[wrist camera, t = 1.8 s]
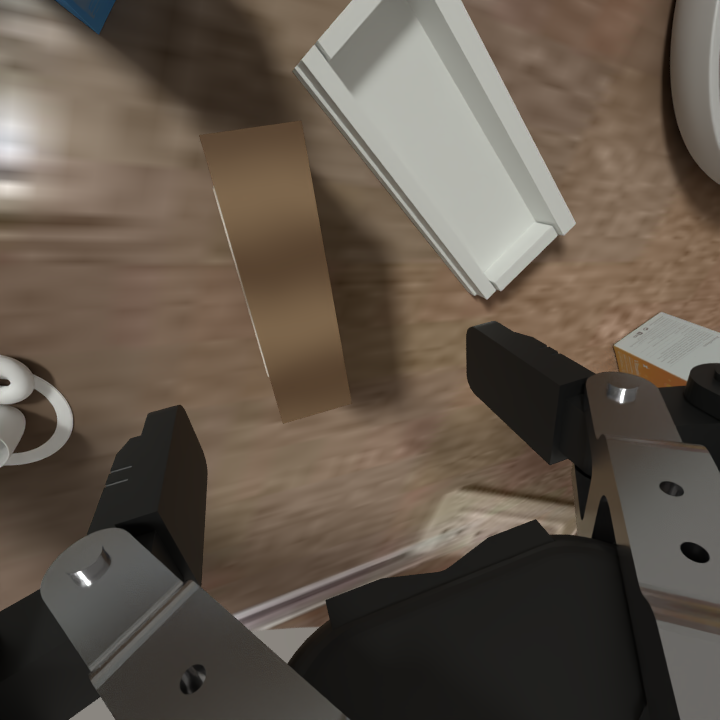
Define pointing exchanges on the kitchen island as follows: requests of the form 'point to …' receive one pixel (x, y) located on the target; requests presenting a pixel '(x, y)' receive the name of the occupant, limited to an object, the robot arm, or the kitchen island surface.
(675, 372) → the small box
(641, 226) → the kitchen island surface
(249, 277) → the oak frame
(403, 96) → the frame
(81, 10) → the perfume bottle
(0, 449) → the teacup and saucer
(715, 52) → the bowl
